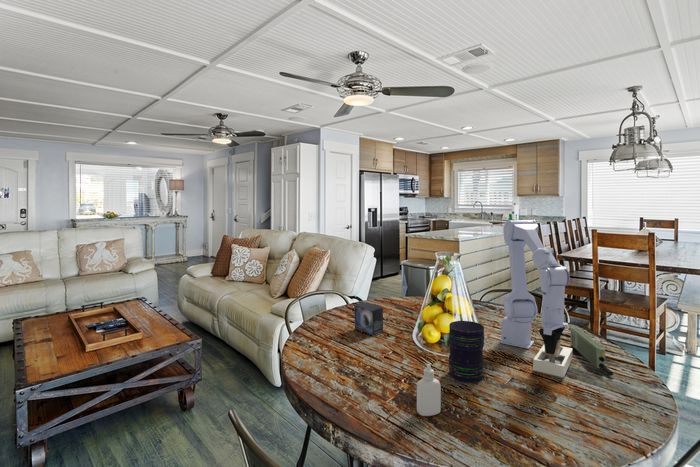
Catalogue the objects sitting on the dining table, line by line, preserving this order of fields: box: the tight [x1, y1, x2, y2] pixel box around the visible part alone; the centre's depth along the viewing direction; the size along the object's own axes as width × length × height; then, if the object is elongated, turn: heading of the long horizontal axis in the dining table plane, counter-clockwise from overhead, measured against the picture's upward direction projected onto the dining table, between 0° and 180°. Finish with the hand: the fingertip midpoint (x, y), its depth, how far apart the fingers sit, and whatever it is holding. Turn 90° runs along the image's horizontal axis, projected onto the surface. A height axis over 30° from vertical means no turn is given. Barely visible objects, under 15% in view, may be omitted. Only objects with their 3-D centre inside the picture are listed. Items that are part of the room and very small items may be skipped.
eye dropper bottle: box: [416, 363, 442, 417], centre depth 92 cm, size 4×6×12 cm
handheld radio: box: [570, 326, 614, 377], centre depth 120 cm, size 7×3×25 cm
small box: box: [353, 301, 384, 336], centre depth 149 cm, size 11×6×10 cm, turn 42°
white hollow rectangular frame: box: [532, 344, 574, 380], centre depth 117 cm, size 16×8×4 cm, turn 142°
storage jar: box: [448, 320, 485, 384], centre depth 110 cm, size 10×10×15 cm
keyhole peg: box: [544, 340, 561, 364], centre depth 113 cm, size 4×4×8 cm
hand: (551, 351), depth 114 cm, fingers closed on keyhole peg, 3 cm apart
